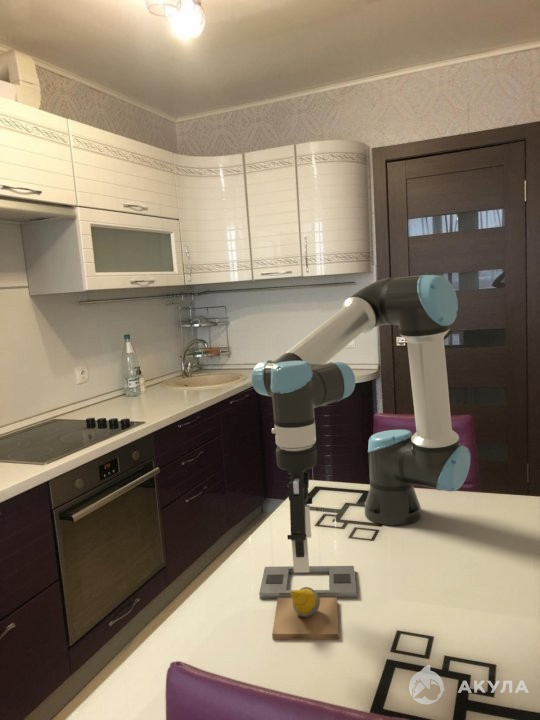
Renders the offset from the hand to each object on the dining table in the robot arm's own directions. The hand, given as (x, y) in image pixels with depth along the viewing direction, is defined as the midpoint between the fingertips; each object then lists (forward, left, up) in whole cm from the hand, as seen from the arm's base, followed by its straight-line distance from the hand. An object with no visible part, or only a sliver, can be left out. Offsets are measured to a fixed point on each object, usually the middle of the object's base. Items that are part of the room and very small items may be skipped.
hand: (303, 553), depth 107 cm
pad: (0, 0, -14) cm, 13 cm away
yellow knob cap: (0, +1, -13) cm, 13 cm away
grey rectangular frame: (0, -13, -14) cm, 19 cm away
